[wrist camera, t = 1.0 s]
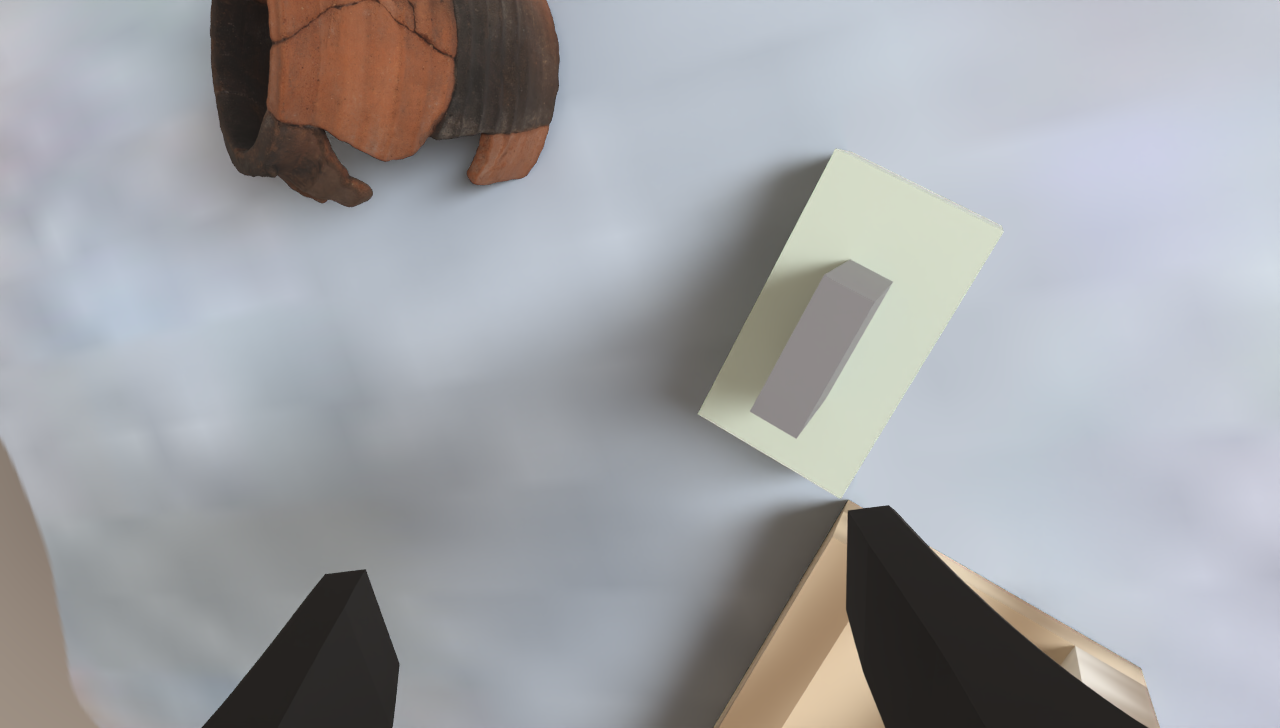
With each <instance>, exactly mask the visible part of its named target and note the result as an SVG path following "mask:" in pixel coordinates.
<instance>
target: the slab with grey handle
mask: <svg viewBox="0 0 1280 728" xmlns="http://www.w3.org/2000/svg"><path fill="white" fill-rule="evenodd" d="M1003 232H1004V231H1003V228H1002V226H1001V225H999V224H997V223H995V222H993V221H991V220H989V219H987V218H985V217H983V216H981V215H979V214H977V213H975V212H973V211H971V210H969V209H967V208H965V207H963V206H961V205H958V204H956V203H954V202H952V201H950V200H948V199H946V198H944V197H942V196H940V195H938V194H936V193H934V192H932V191H930V190H928V189H926V188H924V187H922V186H920V185H918V184H916V183H914V182H912V181H910V180H908V179H906V178H904V177H902V176H900V175H898V174H896V173H893V172H891V171H889V170H887V169H885V168H883V167H881V166H879V165H877V164H875V163H873V162H871V161H869V160H867V159H865V158H863V157H861V156H859V155H857V154H855V153H853V152H850V151H845V150H840V149H835V150H834V152H833V154H832V156H831V158H830V160H829V162H828V164H827V166H826V168H825V170H824V172H823V174H822V175H821V177H820V179H819V181H818V183H817V185H816V187H815V189H814V191H813V193H812V195H811V197H810V199H809V201H808V202H807V204H806V206H805V208H804V210H803V212H802V214H801V216H800V218H799V220H798V222H797V224H796V226H795V227H794V229H793V231H792V233H791V235H790V237H789V239H788V241H787V243H786V245H785V247H784V249H783V251H782V253H781V254H780V256H779V258H778V260H777V262H776V264H775V266H774V268H773V270H772V272H771V274H770V276H769V278H768V279H767V281H766V283H765V285H764V287H763V289H762V291H761V293H760V295H759V297H758V299H757V301H756V303H755V304H754V306H753V308H752V310H751V312H750V314H749V316H748V318H747V320H746V322H745V324H744V326H743V328H742V330H741V331H740V333H739V335H738V337H737V339H736V341H735V343H734V345H733V347H732V349H731V351H730V353H729V355H728V356H727V358H726V360H725V362H724V364H723V366H722V368H721V370H720V372H719V374H718V376H717V378H716V380H715V382H714V383H713V385H712V387H711V389H710V391H709V393H708V395H707V397H706V399H705V401H704V403H703V405H702V407H701V408H700V410H699V412H698V415H700V416H702V417H703V418H705V419H707V420H708V421H710V422H712V423H713V424H715V425H717V426H718V427H720V428H722V429H723V430H725V431H727V432H729V433H730V434H732V435H734V436H735V437H737V438H739V439H740V440H742V441H744V442H745V443H747V444H749V445H750V446H752V447H754V448H755V449H757V450H759V451H761V452H762V453H764V454H766V455H767V456H769V457H771V458H772V459H774V460H776V461H777V462H779V463H781V464H782V465H784V466H786V467H787V468H789V469H791V470H792V471H794V472H796V473H798V474H799V475H801V476H803V477H804V478H806V479H808V480H809V481H811V482H813V483H814V484H816V485H818V486H819V487H821V488H823V489H824V490H826V491H828V492H830V493H831V494H833V495H835V496H836V497H838V498H840V499H841V498H842V496H843V494H844V493H845V491H846V489H847V488H848V486H849V484H850V483H851V481H852V480H853V478H854V476H855V475H856V473H857V471H858V470H859V468H860V466H861V465H862V463H863V461H864V460H865V458H866V457H867V455H868V453H869V452H870V450H871V448H872V447H873V445H874V443H875V442H876V440H877V438H878V437H879V435H880V434H881V432H882V430H883V429H884V427H885V425H886V424H887V422H888V420H889V419H890V417H891V416H892V414H893V412H894V411H895V409H896V407H897V406H898V404H899V402H900V401H901V399H902V397H903V396H904V394H905V393H906V391H907V389H908V388H909V386H910V384H911V383H912V381H913V379H914V378H915V376H916V375H917V373H918V371H919V370H920V368H921V366H922V365H923V363H924V361H925V360H926V358H927V356H928V355H929V353H930V352H931V350H932V348H933V347H934V345H935V343H936V342H937V340H938V338H939V337H940V335H941V334H942V332H943V330H944V329H945V327H946V325H947V324H948V322H949V320H950V319H951V317H952V315H953V314H954V312H955V311H956V309H957V307H958V306H959V304H960V302H961V301H962V299H963V297H964V296H965V294H966V292H967V291H968V289H969V288H970V286H971V284H972V283H973V281H974V279H975V278H976V276H977V274H978V273H979V271H980V270H981V268H982V266H983V265H984V263H985V261H986V260H987V258H988V256H989V255H990V253H991V251H992V250H993V248H994V247H995V245H996V243H997V242H998V240H999V238H1000V237H1001V235H1002V233H1003Z"/></svg>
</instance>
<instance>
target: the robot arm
mask: <svg viewBox="0 0 1280 728" xmlns="http://www.w3.org/2000/svg"><path fill="white" fill-rule="evenodd" d="M846 612H847V616H848V619H849V623H850V627H851V631H852V634H853V638H854V642H855V645H856V649H857V652H858V656H859V659H860V663H861V666H862V670H863V673H864V676H865V679H866V681H867V684H868V686H869V689H870V691H871V694H872V696H873V699H874V701H875V704H876V706H877V709H878V711H879V714H880V716H881V719H882V721H883V724H884V726H885V728H1148V727H1147V726H1145V725H1143V724H1142V723H1140V722H1139V721H1137V720H1135V719H1134V718H1132V717H1131V716H1129V715H1128V714H1126V713H1125V712H1124V711H1122V710H1121V709H1119V708H1118V707H1116V706H1115V705H1113V704H1112V703H1110V702H1109V701H1108V700H1106V699H1105V698H1103V697H1102V696H1100V695H1099V694H1098V693H1096V692H1095V691H1094V690H1092V689H1091V688H1090V687H1088V686H1087V685H1085V684H1084V683H1083V682H1081V681H1080V680H1079V679H1077V678H1076V677H1075V676H1073V675H1072V674H1071V673H1069V672H1068V671H1067V670H1065V669H1064V668H1063V667H1062V666H1060V665H1059V664H1058V663H1056V662H1055V661H1054V660H1053V659H1051V658H1050V657H1049V656H1048V655H1047V654H1045V653H1044V652H1043V651H1042V650H1040V649H1039V648H1038V647H1037V646H1036V645H1034V644H1033V643H1032V642H1031V641H1030V640H1028V639H1027V638H1026V637H1025V636H1024V635H1022V634H1021V633H1020V632H1019V631H1018V630H1017V629H1015V628H1014V627H1013V626H1012V625H1011V624H1010V623H1009V622H1007V621H1006V620H1005V619H1004V618H1003V617H1002V616H1001V615H999V614H998V613H997V612H996V611H995V610H994V609H993V608H992V607H991V606H990V605H989V604H987V603H986V602H985V601H984V600H983V599H982V598H981V597H980V596H979V595H978V594H977V593H976V592H975V591H974V590H972V589H971V588H970V587H969V586H968V585H967V584H966V583H965V582H964V581H963V580H962V579H961V578H960V577H959V576H958V575H957V574H956V573H955V572H954V571H953V570H952V569H951V568H950V567H949V566H948V565H947V564H946V563H945V562H944V561H943V560H942V559H941V558H940V557H939V556H938V555H937V554H936V553H935V552H934V551H933V550H932V549H931V548H930V547H929V546H928V545H927V544H926V543H925V542H924V541H923V540H922V539H921V538H920V537H919V536H918V534H917V533H916V532H915V531H914V530H913V529H912V528H911V527H910V526H909V525H908V524H907V523H906V522H905V521H904V519H903V518H902V517H901V516H900V515H899V514H898V513H897V512H896V511H895V510H894V509H893V508H891V507H890V506H889V505H888V506H879V507H871V508H863V509H855V510H848V520H847V573H846ZM398 674H399V661H398V659H397V656H396V653H395V650H394V647H393V645H392V642H391V639H390V636H389V633H388V631H387V628H386V625H385V622H384V619H383V617H382V614H381V611H380V608H379V605H378V603H377V600H376V597H375V594H374V591H373V589H372V586H371V583H370V580H369V577H368V575H367V572H366V569H364V570H356V571H348V572H340V573H332V574H325V575H324V576H323V578H322V579H321V580H320V581H319V582H318V584H317V585H316V586H315V587H314V589H313V590H312V591H311V592H310V594H309V595H308V596H307V598H306V599H305V600H304V601H303V603H302V604H301V605H300V607H299V608H298V609H297V611H296V612H295V613H294V614H293V616H292V617H291V618H290V620H289V621H288V622H287V624H286V625H285V626H284V628H283V629H282V630H281V631H280V633H279V634H278V635H277V637H276V638H275V639H274V640H273V642H272V643H271V644H270V646H269V647H268V648H267V649H266V651H265V652H264V653H263V655H262V656H261V657H260V658H259V660H258V661H257V662H256V663H255V665H254V666H253V667H252V668H251V669H250V671H249V672H248V673H247V674H246V676H245V677H244V678H243V679H242V681H241V682H240V683H239V684H238V686H237V687H236V688H235V689H234V691H233V692H232V693H231V694H230V695H229V697H228V698H227V699H226V700H225V701H224V703H223V704H222V705H221V706H220V707H219V708H218V710H217V711H216V712H215V713H214V714H213V715H212V716H211V718H210V719H209V720H208V721H207V722H206V723H205V724H204V726H203V727H202V728H392V727H393V719H394V711H395V703H396V694H397V684H398Z"/></svg>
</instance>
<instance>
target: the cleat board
mask: <svg viewBox="0 0 1280 728" xmlns="http://www.w3.org/2000/svg"><path fill="white" fill-rule="evenodd" d="M855 509H863V508H862V507H860V506H858V505H857V504H855V503H853V502H851V501H850V500H848V501H847V503H846V505H845V506H844V508H843V510H842V511H841V513H840V515H839V516H838V518H837V520H836V522H835V523H834V525H833V527H832V528H831V530H830V532H829V533H828V535H827V537H826V538H825V540H824V542H823V543H822V545H821V547H820V549H819V550H818V552H817V554H816V555H815V557H814V559H813V560H812V562H811V564H810V565H809V567H808V569H807V570H806V572H805V574H804V576H803V577H802V579H801V581H800V582H799V584H798V586H797V587H796V589H795V591H794V592H793V594H792V596H791V597H790V599H789V601H788V603H787V604H786V606H785V608H784V609H783V611H782V613H781V614H780V616H779V618H778V619H777V621H776V623H775V625H774V626H773V628H772V630H771V631H770V633H769V635H768V636H767V638H766V640H765V641H764V643H763V645H762V646H761V648H760V650H759V652H758V653H757V655H756V657H755V658H754V660H753V662H752V663H751V665H750V667H749V668H748V670H747V672H746V673H745V675H744V677H743V679H742V680H741V682H740V684H739V685H738V687H737V689H736V690H735V692H734V694H733V695H732V697H731V699H730V700H729V702H728V704H727V706H726V707H725V709H724V711H723V712H722V714H721V716H720V717H719V719H718V721H717V722H716V724H715V726H714V727H713V728H885V726H884V724H883V721H882V719H881V716H880V714H879V711H878V709H877V706H876V704H875V701H874V699H873V696H872V694H871V691H870V689H869V686H868V684H867V681H866V679H865V676H864V673H863V670H862V666H861V663H860V659H859V656H858V652H857V649H856V645H855V642H854V638H853V634H852V631H851V627H850V623H849V619H848V616H847V612H846V573H847V520H848V510H855ZM930 548H931V547H930ZM931 549H932V550H933V551H934V552H935V553H936V554H937V555H938V556H939V557H940V558H941V559H942V560H943V561H944V562H945V563H946V564H947V565H948V566H949V567H950V568H951V569H952V570H953V571H954V572H955V573H956V574H957V575H958V576H959V577H960V578H961V579H962V580H963V581H964V582H965V583H966V584H967V585H968V586H969V587H970V588H971V589H972V590H974V591H975V592H976V593H977V594H978V595H979V596H980V597H981V598H982V599H983V600H984V601H985V602H986V603H987V604H989V605H990V606H991V607H992V608H993V609H994V610H995V611H996V612H997V613H998V614H999V615H1001V616H1002V617H1003V618H1004V619H1005V620H1006V621H1007V622H1009V623H1010V624H1011V625H1012V626H1013V627H1014V628H1015V629H1017V630H1018V631H1019V632H1020V633H1021V634H1022V635H1024V636H1025V637H1026V638H1027V639H1028V640H1030V641H1031V642H1032V643H1033V644H1034V645H1036V646H1037V647H1038V648H1039V649H1040V650H1042V651H1043V652H1044V653H1045V654H1047V655H1048V656H1049V657H1050V658H1051V659H1053V660H1054V661H1055V662H1056V663H1058V664H1059V665H1060V666H1062V667H1063V668H1064V669H1065V670H1067V671H1068V672H1069V673H1071V674H1072V675H1073V676H1075V677H1076V678H1077V679H1079V680H1080V681H1081V682H1083V683H1084V684H1085V685H1087V686H1088V687H1090V688H1091V689H1092V690H1094V691H1095V692H1096V693H1098V694H1099V695H1100V696H1102V697H1103V698H1105V699H1106V700H1108V701H1109V702H1110V703H1112V704H1113V705H1115V706H1116V707H1118V708H1119V709H1121V710H1122V711H1124V712H1125V713H1126V714H1128V715H1129V716H1131V717H1132V718H1134V719H1135V720H1137V721H1139V722H1140V723H1142V724H1143V725H1145V726H1147V727H1148V728H1160V727H1159V723H1158V720H1157V717H1156V714H1155V711H1154V708H1153V705H1152V701H1151V698H1150V695H1149V692H1148V689H1147V686H1146V683H1145V679H1144V676H1143V673H1142V670H1141V668H1140V667H1138V666H1136V665H1134V664H1133V663H1131V662H1129V661H1127V660H1126V659H1124V658H1122V657H1120V656H1119V655H1117V654H1115V653H1113V652H1112V651H1110V650H1108V649H1107V648H1105V647H1103V646H1101V645H1100V644H1098V643H1096V642H1094V641H1093V640H1091V639H1089V638H1087V637H1086V636H1084V635H1082V634H1081V633H1079V632H1077V631H1075V630H1074V629H1072V628H1070V627H1068V626H1067V625H1065V624H1063V623H1061V622H1060V621H1058V620H1056V619H1054V618H1053V617H1051V616H1049V615H1048V614H1046V613H1044V612H1042V611H1041V610H1039V609H1037V608H1035V607H1034V606H1032V605H1030V604H1028V603H1027V602H1025V601H1023V600H1021V599H1020V598H1018V597H1016V596H1015V595H1013V594H1011V593H1009V592H1008V591H1006V590H1004V589H1002V588H1001V587H999V586H997V585H995V584H994V583H992V582H990V581H989V580H987V579H985V578H983V577H982V576H980V575H978V574H976V573H975V572H973V571H971V570H969V569H968V568H966V567H964V566H962V565H961V564H959V563H957V562H956V561H954V560H952V559H950V558H949V557H947V556H945V555H943V554H942V553H940V552H938V551H936V550H935V549H933V548H931Z"/></svg>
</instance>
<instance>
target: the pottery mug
mask: <svg viewBox="0 0 1280 728" xmlns="http://www.w3.org/2000/svg"><path fill="white" fill-rule="evenodd" d="M210 36H211V68H212V77H213V85H214V92H215V96H216V104H217V110H218V115H219V120H220V128H221V131H222V133H223V137H224V141H225V145H226V148H227V151H228V153H229V156H230V158H231V161H232V163H233V164H234V166H235V167H236V169H237V170H238V171H239V172H240V173H242V174H244V175H249V176H252V177H255V176H261V177H266V176H267V177H271V178H275V177H276V176H277V175H278V176H279V177H280V178H282V179H283V180H284V181H285V182H286V183H287V184H288V186H289V187H290V188H292V189H293V190H295V191H297V192H299V193H300V194H301V195H303V196H305V197H309V198H313V199H314V200H316V201H318V202H320V203H325V202H326V201H327V200H333V201H335V202H337V203H339V204H342V205H344V206H346V207H354V206H357V205H359V204H361V203H363V202H366V201H368V200H369V199H370V198H371V197H372V195H373V191H372V189H371V188H370V187H369V185H367V184H366V183H364V182H362V181H360V180H358V179H356V178H354V177H351V176H350V175H349V173H348V171H347V169H346V168H345V167H344V166H343V165H342V164H341V163H340V161H339V160H338V158H337V156H336V155H335V153H334V152H333V150H332V148H331V145H330V142H329V140H328V138H327V136H326V133H325V130H326V131H328V132H329V133H330V134H331V135H333V136H334V137H335V138H337V139H338V140H340V141H344V142H347V143H349V144H350V145H351V146H353V147H354V148H356V149H358V150H360V151H362V152H364V153H367V154H369V155H371V156H372V157H374V158H376V159H379V160H381V161H385V162H386V161H390V160H398V159H404V158H406V157H409V156H412V155H414V154H415V153H416V152H417V151H418V150H419V148H420V147H421V146H422V145H423V144H424V143H425V141H426V140H427V138H428V137H432V138H433V139H435V140H442V139H452V138H458V137H461V136H473V135H477V134H479V133H481V136H480V141H479V146H478V148H477V150H476V154H475V156H474V158H473V161H472V163H471V165H470V167H469V169H468V171H467V176H468V178H469V180H470V181H471V182H472V183H473V184H476V185H489V184H493V183H496V182H502V181H508V180H511V179H520V178H523V177H525V176H527V175H528V173H529V171H530V170H531V169H532V168H533V166H534V165H535V163H536V162H537V159H538V157H539V155H540V153H541V151H542V149H543V147H544V143H545V139H546V136H547V134H548V130H549V124H550V123H551V120H552V117H553V112H554V106H555V99H556V95H557V92H558V88H559V80H558V70H559V62H560V57H559V43H558V38H557V34H556V32H555V26H554V22H553V17H552V15H551V12H550V8H549V6H548V3H547V1H546V0H212V5H211V27H210Z"/></svg>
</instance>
